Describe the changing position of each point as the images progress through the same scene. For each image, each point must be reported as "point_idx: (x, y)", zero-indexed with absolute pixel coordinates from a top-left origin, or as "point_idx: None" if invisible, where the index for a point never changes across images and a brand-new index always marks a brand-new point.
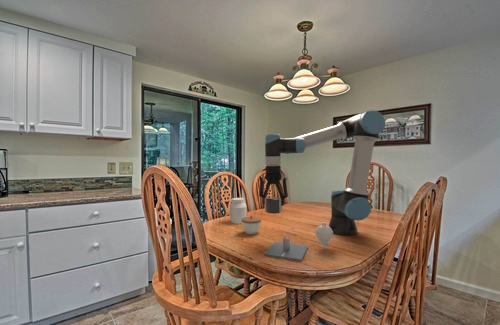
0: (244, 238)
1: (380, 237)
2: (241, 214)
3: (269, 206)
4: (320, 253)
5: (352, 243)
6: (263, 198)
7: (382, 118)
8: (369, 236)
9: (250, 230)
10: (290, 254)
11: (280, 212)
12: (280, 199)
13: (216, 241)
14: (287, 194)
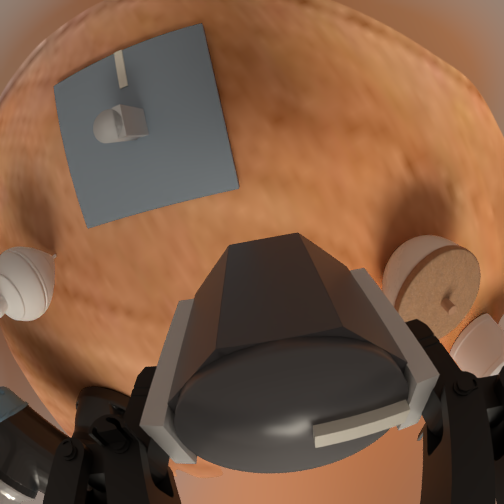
0: (406, 178)
1: (41, 390)
2: (480, 353)
3: (301, 273)
4: (42, 201)
5: (40, 334)
6: (454, 373)
7: None
8: (55, 391)
9: (412, 239)
10: (98, 91)
11: (182, 301)
12: (142, 422)
13: (470, 97)
14: (86, 494)
